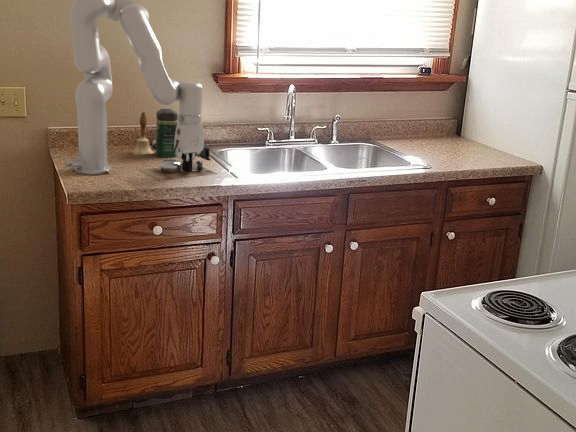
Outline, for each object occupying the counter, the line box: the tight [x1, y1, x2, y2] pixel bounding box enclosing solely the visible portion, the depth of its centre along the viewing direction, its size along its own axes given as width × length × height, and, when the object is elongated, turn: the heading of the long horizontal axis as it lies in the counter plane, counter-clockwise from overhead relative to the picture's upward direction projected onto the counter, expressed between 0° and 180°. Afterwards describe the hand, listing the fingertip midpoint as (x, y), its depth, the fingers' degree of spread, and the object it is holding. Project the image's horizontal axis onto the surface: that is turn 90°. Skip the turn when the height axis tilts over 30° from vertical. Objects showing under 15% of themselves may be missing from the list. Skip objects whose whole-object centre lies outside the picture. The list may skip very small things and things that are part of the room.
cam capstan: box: [160, 158, 203, 172], centre depth 244 cm, size 14×7×3 cm, turn 103°
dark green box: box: [199, 141, 211, 161], centre depth 273 cm, size 5×3×15 cm
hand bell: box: [131, 111, 154, 156], centre depth 269 cm, size 8×8×16 cm
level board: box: [138, 166, 219, 182], centre depth 244 cm, size 23×15×1 cm, turn 127°
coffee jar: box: [155, 108, 179, 159], centre depth 264 cm, size 10×8×19 cm
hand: (187, 171), depth 243 cm, fingers closed
